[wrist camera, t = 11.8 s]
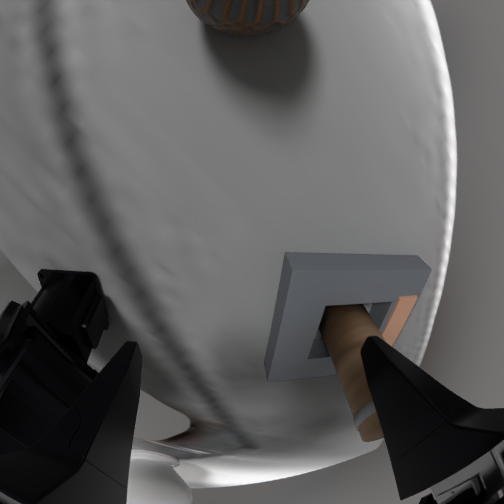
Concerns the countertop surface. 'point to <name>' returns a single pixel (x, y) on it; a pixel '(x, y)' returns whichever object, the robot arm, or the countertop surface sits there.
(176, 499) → the decorative vase
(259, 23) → the vase
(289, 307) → the socket block
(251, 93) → the countertop surface
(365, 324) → the walnut peg
